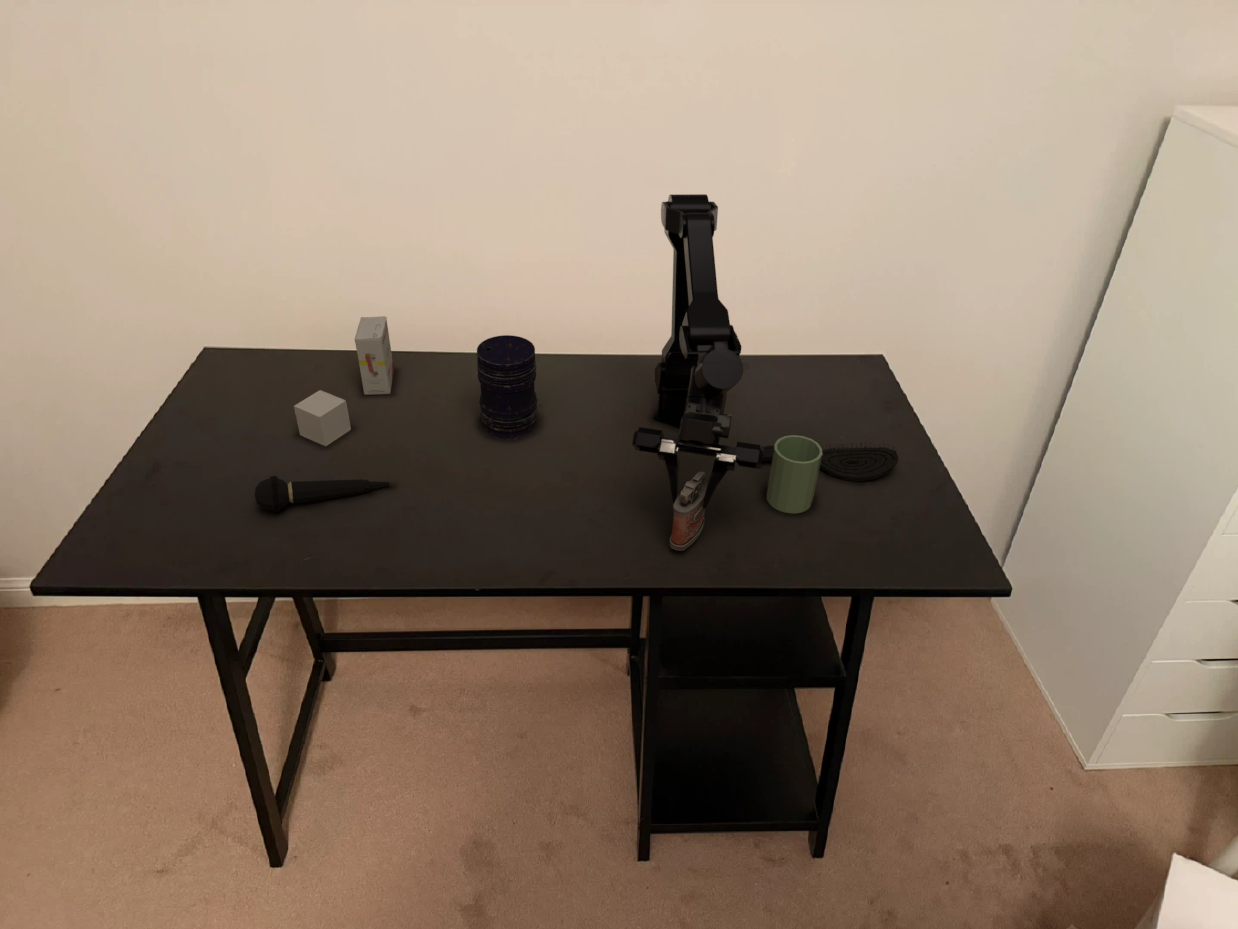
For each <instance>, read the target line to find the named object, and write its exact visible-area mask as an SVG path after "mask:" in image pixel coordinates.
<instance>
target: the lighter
mask: <svg viewBox="0 0 1238 929" xmlns="http://www.w3.org/2000/svg"><path fill="white" fill-rule="evenodd" d="M705 480H706V473H705V472H704V471H698V472H697V473H696V474H695V476H693V478H692V479H691V480H687V481H686V482H685V484H684V486H683V489H682V490H681V491H680V493H679V494H678V495H677V498H676V501H675V503H674V504H672V511H673V519H672V529H671V535H670V538H669V546H670V548H671V549H673V550H675V551H680V552H681V551H685V550H686V549H687V548H689V547H690V546H691V545H693V543H694V542H695V541H696V540H697V539H698V538H699V536H700V535H701V533H702V531H703V529H704V527H705V521H706V519H705V511H706V509H703V501H704V496H705V493H706V489H707V486H708V482H706V481H705Z"/></svg>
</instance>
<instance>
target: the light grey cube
mask: <svg viewBox="0 0 1238 929" xmlns="http://www.w3.org/2000/svg"><path fill="white" fill-rule="evenodd" d="M293 410H294V413H295V418H296V423H297V428H298V433H299V436H301V437H303V438H306V439H308V440H310V441H312V442H314V443H317V444H320V445H321V446H323V447H327V446H329V445H330V444H332V443H333V442H335V441H336V440H338V439H339V438H341V437H342V436H344V435H346V434H347V433H348V432H350V431H351V430H352V428H351V421H350V415H349V410H348V405H347V400H345V399H343V398H341V397H339V396H336V395H333V394H331V393H329V392H326V391H323V390H321V389H319V390H318V391H316V392H314V393H313V394H311V395H309V396H308V397H306V398H305V399H303V400H301V401H299V402H298V403H296V404H295V405H293Z"/></svg>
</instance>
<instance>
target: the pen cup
mask: <svg viewBox="0 0 1238 929" xmlns="http://www.w3.org/2000/svg"><path fill="white" fill-rule="evenodd" d="M773 446H774V450H773V456H772V460H771V463H770V467H769V475H768V481H767V487H766V495H765V496H766V501H767V502H768V504H769V505H770V506H771V507H772V508H773V509H775V510H777V511H778V512H781V513H786V514H792V515H793V514H794V515H795V514H800V513H801V514H802V513H804V512H806V511H808V510H809V509H810V508H811V507H812V505H813V502H814V497H815V492H816V488H817V482H818V477H819V473H820V463H821V459H822V450H823V447H822V446H821V445H820V444H819V443H818V442H817V441H815V440H814V439H813V438H810V437H807V436H804V435H797V434H790V435H784V436H781V437H780V438H778V439H777V440H776V441H775V443H774V445H773Z"/></svg>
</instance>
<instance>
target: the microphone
mask: <svg viewBox="0 0 1238 929" xmlns="http://www.w3.org/2000/svg"><path fill="white" fill-rule="evenodd" d="M389 486H390V482H389V481H378V480H377V481H376V480H375V481H370V480H369V479H361V478H359V479H332V480H331V479H330V480H303V481H301V480H299V481H297V480H296V481H289V483H287V482H286V481H285V480H283V479H281V478H278V476H277V475H271V476H270V477H269V478H266V479H262V480H261V481H259V483H258V484H257V485H256V487H255V488H254V489H255V490H254V498H255V501H256V504H257V505H258V506H259V507H260V508H261V509H263V510H266V511H272V512H273V513H279V512H281V509H283V508H286V506H287V505H288V504H289V503H291V504H299V503H306V502H308V503H310V504H311V503H319V502H321V500H326V499H333V498H339V497H340V498H341V497H346V496H354V495H360V494H365V493H370V492H371V490H377V489H381V488H386V487H389Z"/></svg>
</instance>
